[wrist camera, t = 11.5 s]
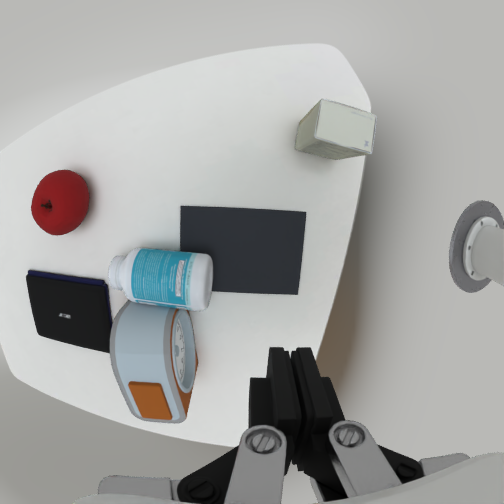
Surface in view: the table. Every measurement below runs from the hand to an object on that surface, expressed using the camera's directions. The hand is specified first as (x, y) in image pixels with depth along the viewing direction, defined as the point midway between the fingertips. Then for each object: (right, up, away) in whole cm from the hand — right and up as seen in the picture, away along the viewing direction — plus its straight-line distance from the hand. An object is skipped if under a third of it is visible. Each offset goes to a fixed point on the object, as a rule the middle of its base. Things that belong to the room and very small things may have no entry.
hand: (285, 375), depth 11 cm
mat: (-3, +5, +28) cm, 29 cm away
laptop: (-33, -5, +30) cm, 45 cm away
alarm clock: (-15, -8, +31) cm, 35 cm away
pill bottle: (-7, +1, +25) cm, 25 cm away
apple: (-28, +13, +25) cm, 40 cm away
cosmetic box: (+8, +20, +25) cm, 33 cm away
